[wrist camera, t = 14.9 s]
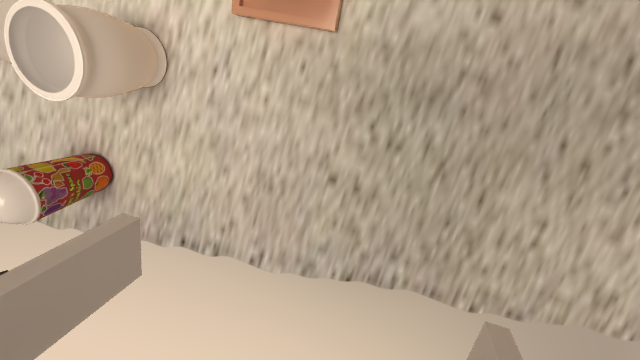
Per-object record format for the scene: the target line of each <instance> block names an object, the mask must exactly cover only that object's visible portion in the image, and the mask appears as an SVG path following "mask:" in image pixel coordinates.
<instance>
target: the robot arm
mask: <svg viewBox="0 0 640 360" xmlns="http://www.w3.org/2000/svg"><path fill="white" fill-rule="evenodd" d="M140 242H141V241H140V218H137V217H134V216H130V215H127V214H124V213H123V214H121V215H119V216H117V217H115V218H113V219H111V220H109V221H107V222H105V223H103V224H101V225H99V226H97V227H95V228H93V229H91V230H89V231H87V232H85V233H83V234H81V235H80V236H77V237H75V238H73V239H71V240H69V241H67V242H65V243H63V244H61V245H60V246H58V247H56V248H54V249H52V250H50V251H48V252H46V253H44V254H42V255H40V256H38V257H36V258H34V259H32V260H30V261H28V262H26V263H24V264H22V265H20V266H18V267H16V268H14V269H12V270H10V271H8V270H6V271H3V272H0V360H34V359H35V358H36V357H38V356H39V355H40V354H42V353H43V352H44V351H45V350H47V349H48V348H49V347H50V346H52V345H53V344H54V343H56V342H57V341H58V340H59V339H61V338H62V337H63V336H64V335H66V334H67V333H68V332H70V331H71V330H72V329H73V328H75V327H76V326H77V325H78V324H80V323H81V322H82V321H84V320H85V319H86V318H87V317H88V316H90V315H91V314H92V313H94V312H95V311H96V310H98V309H99V308H100V307H101V306H103V305H104V304H105V303H106V302H108V301H109V300H110V299H111V298H113V297H114V296H115V295H117V294H118V293H119V292H120V291H122V290H123V289H124V288H126V286H128V285H129V284H131V283H132V282H133V281H134V280H136V279H137V278H138V277H140V276H141V275H142V273H141V272H142V271H141V243H140ZM467 360H523V359H522V356H521V354H520V352H519V350H518V348H517V345H516V343H515V341H514V338H513V336H512V334H511V332H510V329H508V328H505V327H501V326H498V325H495V324H491V323H488V322H485V323H484V325H483V327H482V329H481V331H480V333H479V335H478V337H477V339H476V341H475V344H474V346H473V348H472V350H471V352H470V354H469V356H468V358H467Z"/></svg>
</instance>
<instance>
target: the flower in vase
mask: <svg viewBox="0 0 640 360" xmlns="http://www.w3.org/2000/svg"><path fill="white" fill-rule="evenodd" d="M17 1H18V0H0V59H1V60H3V61H6V62H8V63H11V61H10V58H9V56H8V53H7V49H6V45H5V39H4V24H5V19H6V16H7V13H8V11H9V9H10V8H11V6H12V5H13V4H14V3H15V2H17Z"/></svg>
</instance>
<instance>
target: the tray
mask: <svg viewBox="0 0 640 360" xmlns="http://www.w3.org/2000/svg"><path fill="white" fill-rule="evenodd" d="M342 1H343V0H232V14H235V15H238V16H243V17H249V18H255V19H261V20H267V21H273V22H279V23H284V24H290V25H296V26H302V27H308V28H314V29H319V30H325V31H331V32H337V30H338V24H339V18H340V13H341V7H342Z"/></svg>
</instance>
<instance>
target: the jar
mask: <svg viewBox="0 0 640 360" xmlns="http://www.w3.org/2000/svg"><path fill="white" fill-rule="evenodd" d="M4 39H5V45H6V49H7V53H8V56H9V58H10V61H11V63H12V65H13V67H14V69H15V71H16V72H17V74H18V75H19V77H20V78H21V79H22V81H23V82H24V83H25V84H26V85H27V86H28V87H29V88H30V89H31V90H32V91H33V92H35V93H36V94H38V95H39V96H41V97H43V98H45V99H48V100H52V101H62V100H68V99H71V98H74V97H84V98H103V97H111V96H116V95H120V94H123V93H126V92H130V91H134V90H137V89H139V88H141V87H151V86H155V85H157V84H158V83H159V82H160V81H161V80H162V79H163V77H164V75H165V72H166V67H167V60H166V54H165V51H164V48H163V46H162V44H161V42H160V41H159V40H158V38H157V37H156V36H155V35H154V34H153V33H152V32H150V31H149V30H147V29H145V28H141V27H134V26H132V25H130V24H129V23H127V22H124V21H122V20H120V19H117V18H114V17H112V16H110V15H107V14H105V13H102V12H99V11H96V10H93V9H89V8H84V7H78V6H69V5H55V4H53V3H51V2H49V1H47V0H18V1H17V2H15V3H14V4H13V5H12V6H11V8H10V9H9V11H8V13H7V16H6V19H5V24H4Z"/></svg>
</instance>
